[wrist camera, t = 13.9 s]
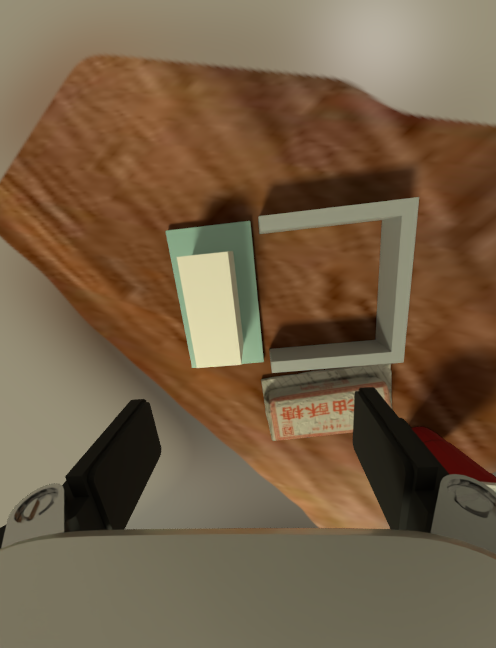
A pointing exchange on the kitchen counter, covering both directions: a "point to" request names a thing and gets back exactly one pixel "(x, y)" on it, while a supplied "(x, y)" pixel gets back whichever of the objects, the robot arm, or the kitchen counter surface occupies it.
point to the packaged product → (320, 400)
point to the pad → (241, 244)
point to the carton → (212, 308)
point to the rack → (391, 288)
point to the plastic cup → (454, 458)
